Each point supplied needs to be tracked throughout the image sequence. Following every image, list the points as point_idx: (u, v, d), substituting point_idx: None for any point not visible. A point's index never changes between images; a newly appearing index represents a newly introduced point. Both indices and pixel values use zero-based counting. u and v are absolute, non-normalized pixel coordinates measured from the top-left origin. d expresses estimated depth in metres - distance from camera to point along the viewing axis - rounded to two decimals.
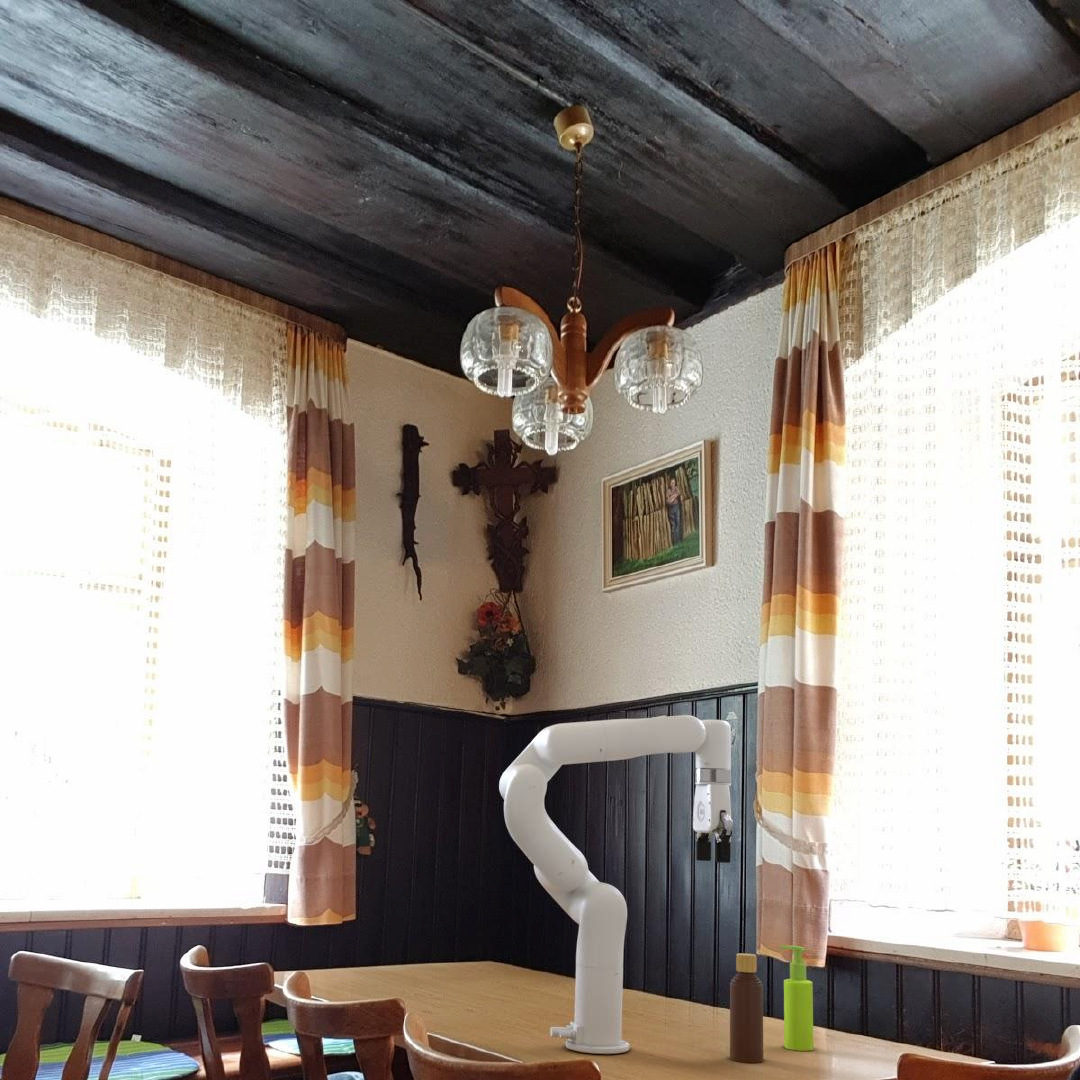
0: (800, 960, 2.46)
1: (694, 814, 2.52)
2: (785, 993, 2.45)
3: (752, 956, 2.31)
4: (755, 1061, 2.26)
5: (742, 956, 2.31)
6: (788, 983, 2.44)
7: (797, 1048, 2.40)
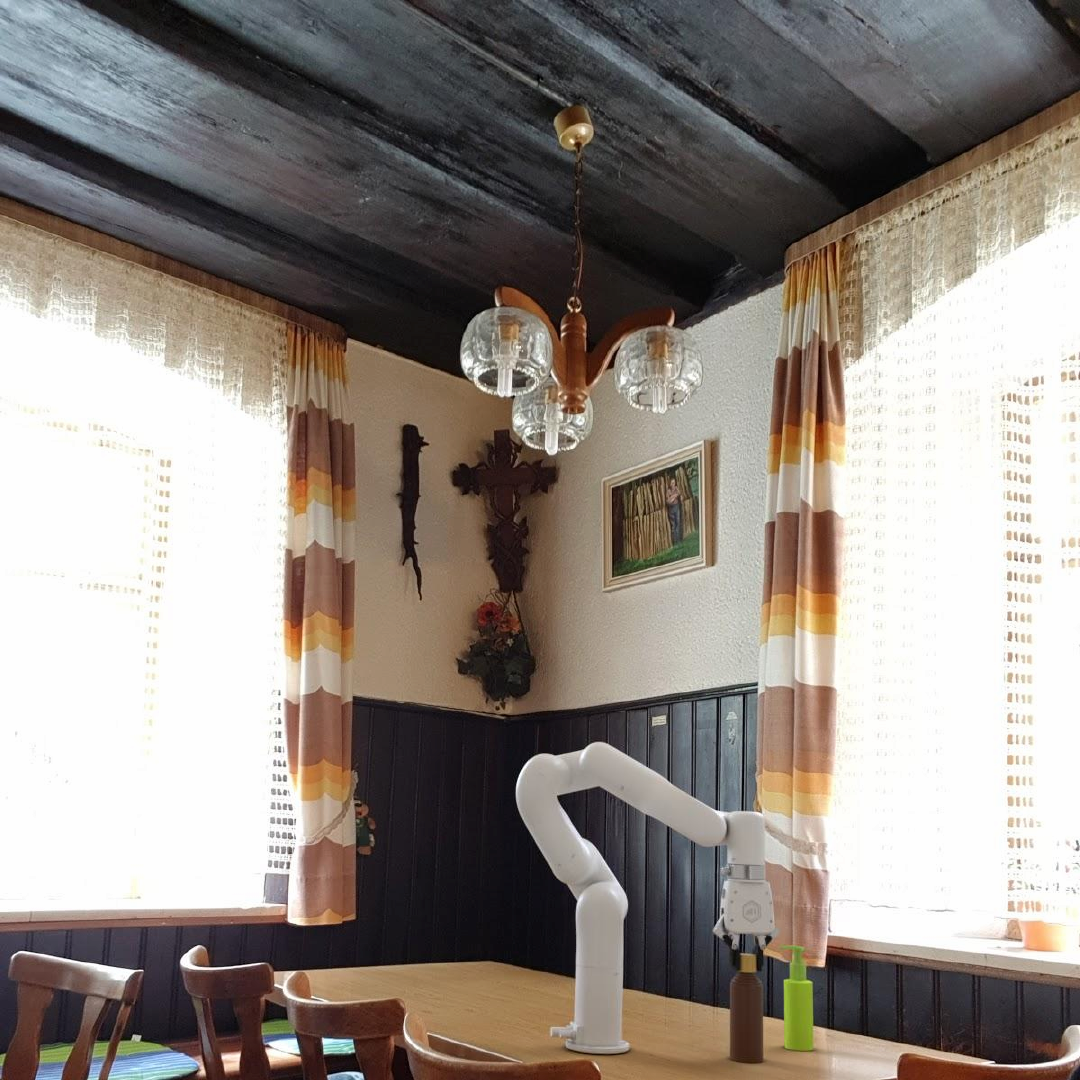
0: (800, 960, 2.46)
1: (734, 914, 2.32)
2: (785, 993, 2.45)
3: (752, 956, 2.31)
4: (755, 1061, 2.26)
5: (742, 956, 2.31)
6: (788, 983, 2.44)
7: (797, 1048, 2.40)
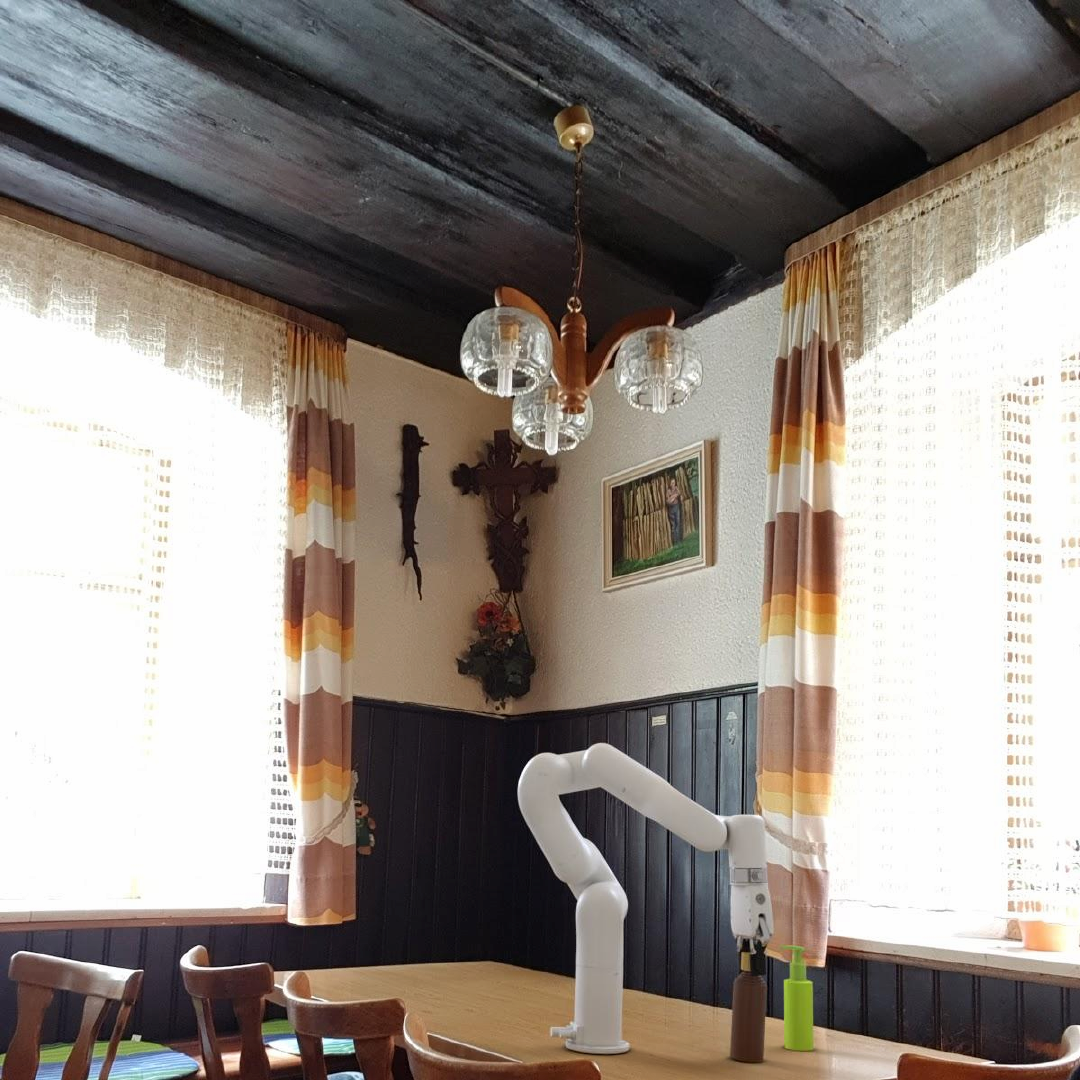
0: (800, 960, 2.46)
1: None
2: (785, 993, 2.45)
3: None
4: (755, 1061, 2.26)
5: None
6: (788, 983, 2.44)
7: (797, 1048, 2.40)
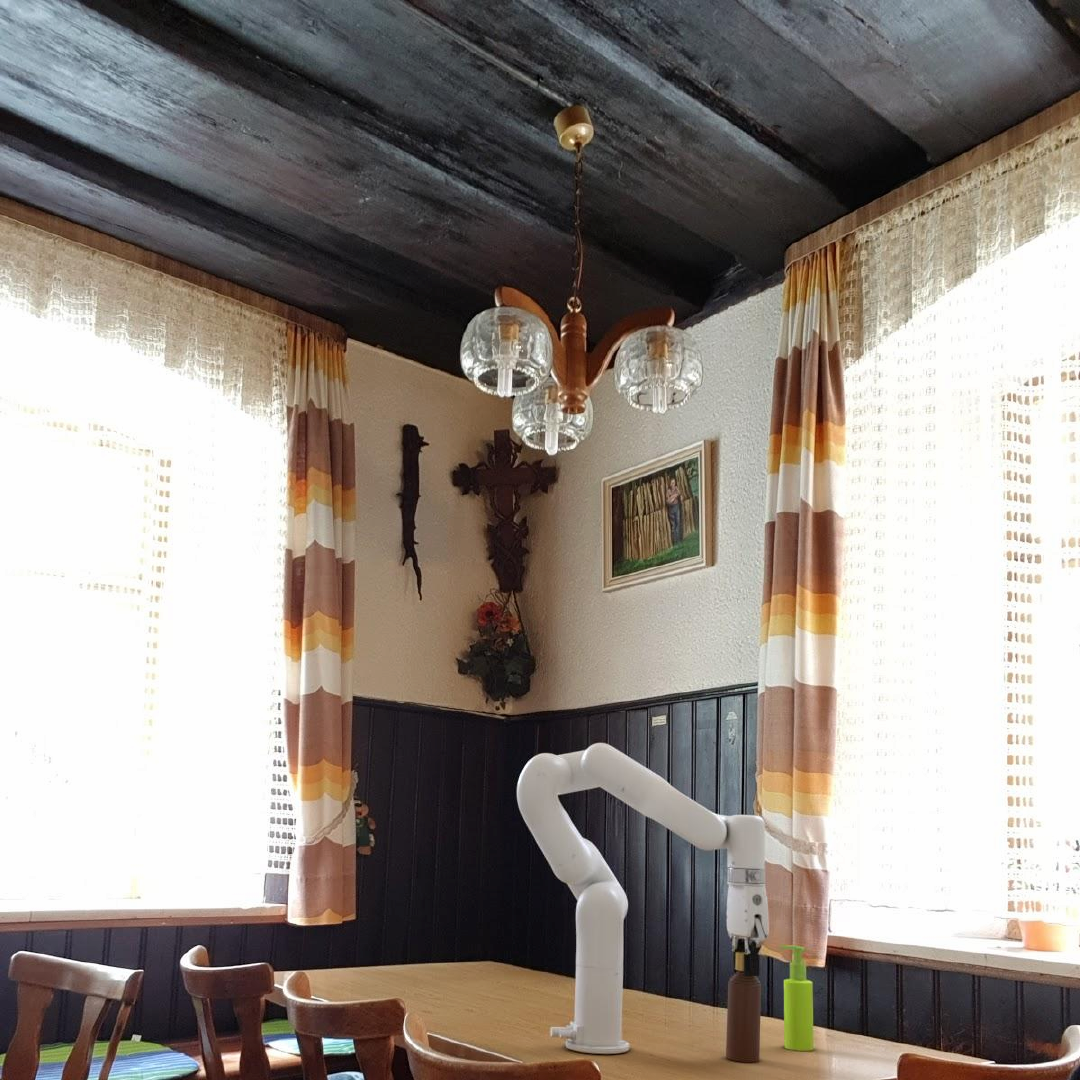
0: (800, 960, 2.46)
1: None
2: (785, 993, 2.45)
3: None
4: (751, 1061, 2.26)
5: None
6: (788, 983, 2.44)
7: (797, 1048, 2.40)
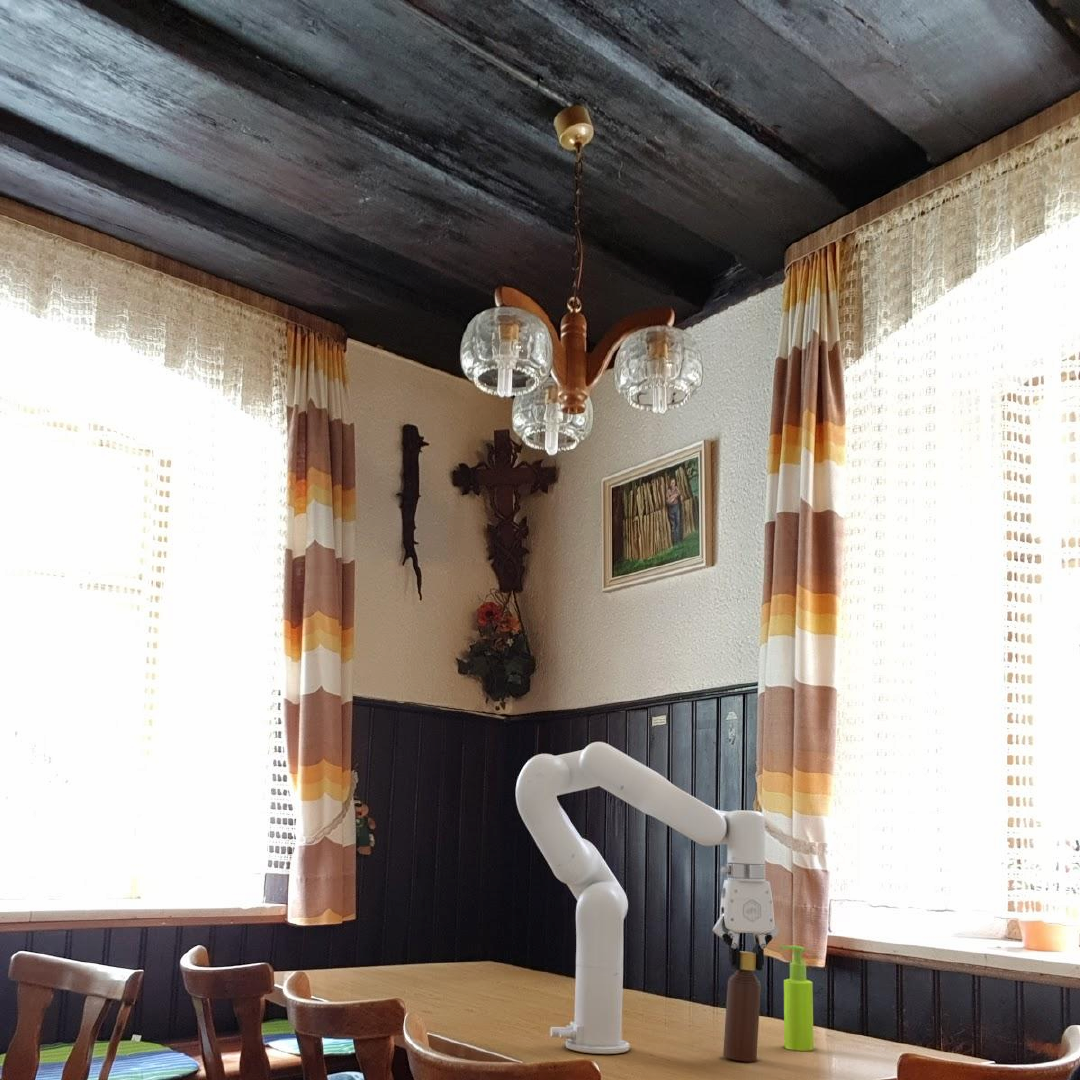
0: (800, 960, 2.46)
1: (734, 913, 2.32)
2: (785, 993, 2.45)
3: None
4: (748, 1060, 2.26)
5: None
6: (788, 983, 2.44)
7: (797, 1048, 2.40)
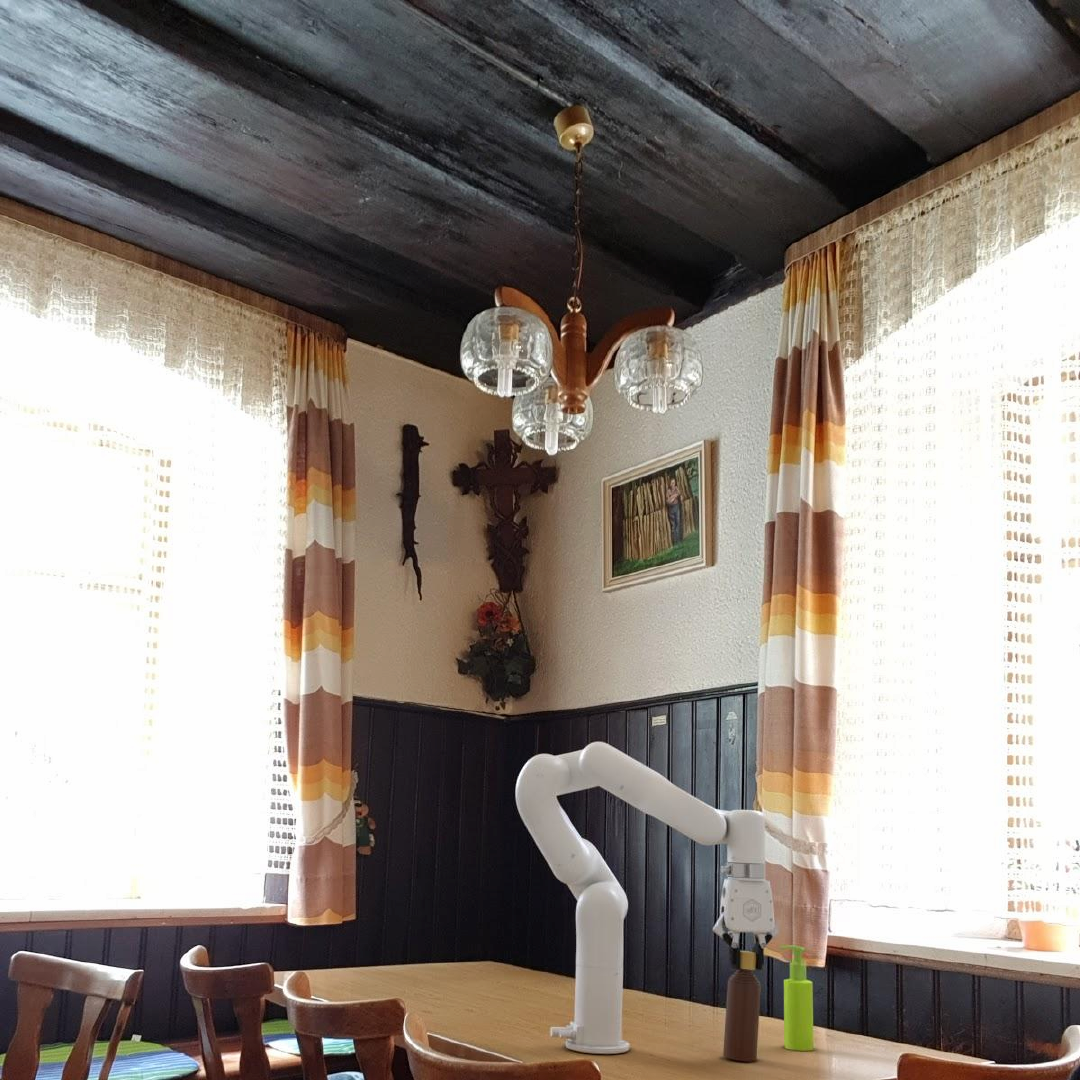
0: (800, 960, 2.46)
1: (734, 913, 2.32)
2: (785, 993, 2.45)
3: (740, 952, 2.32)
4: (748, 1060, 2.26)
5: None
6: (788, 983, 2.44)
7: (797, 1048, 2.40)
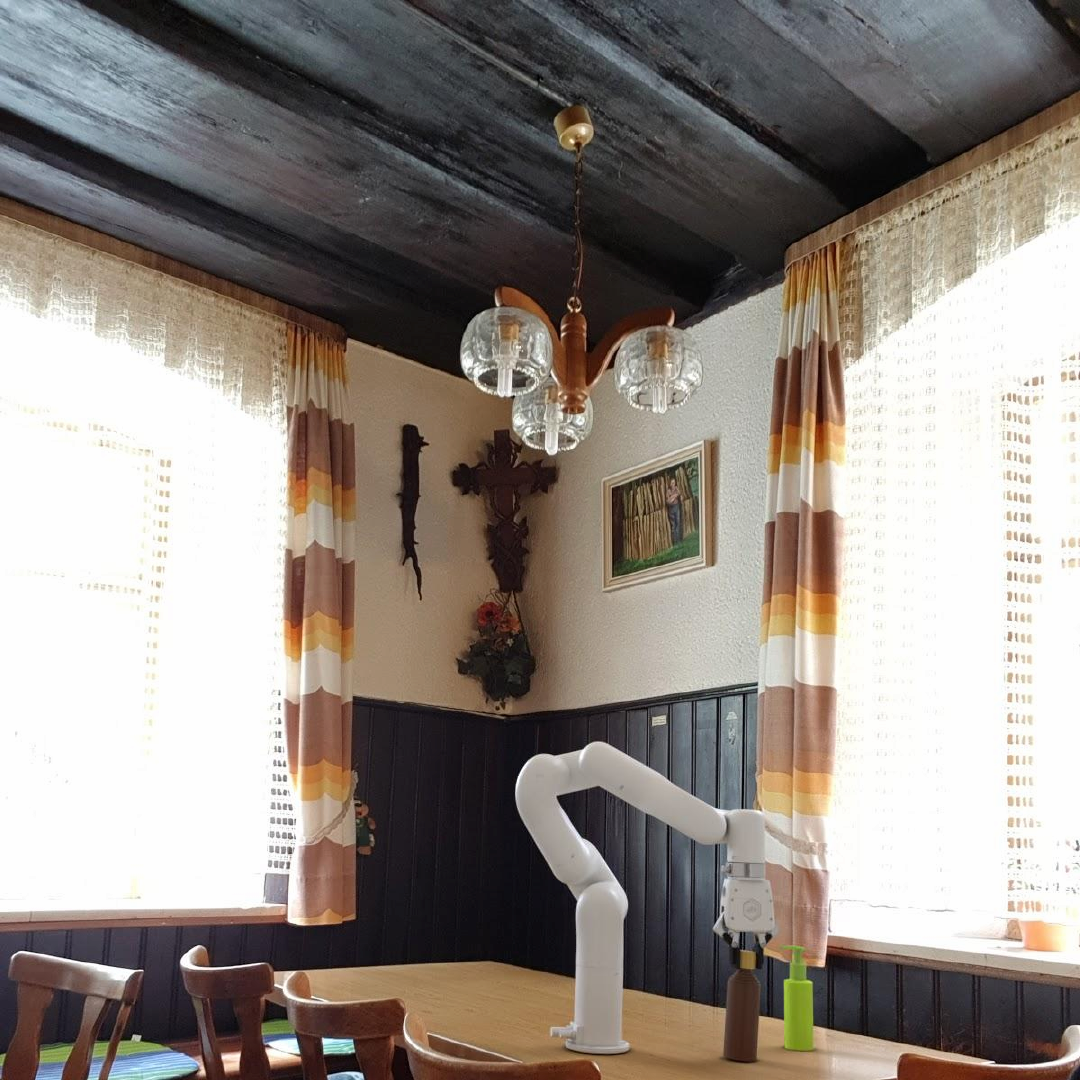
0: (800, 960, 2.46)
1: (734, 912, 2.32)
2: (785, 993, 2.45)
3: (754, 953, 2.32)
4: (748, 1060, 2.26)
5: (745, 953, 2.32)
6: (788, 983, 2.44)
7: (797, 1048, 2.40)
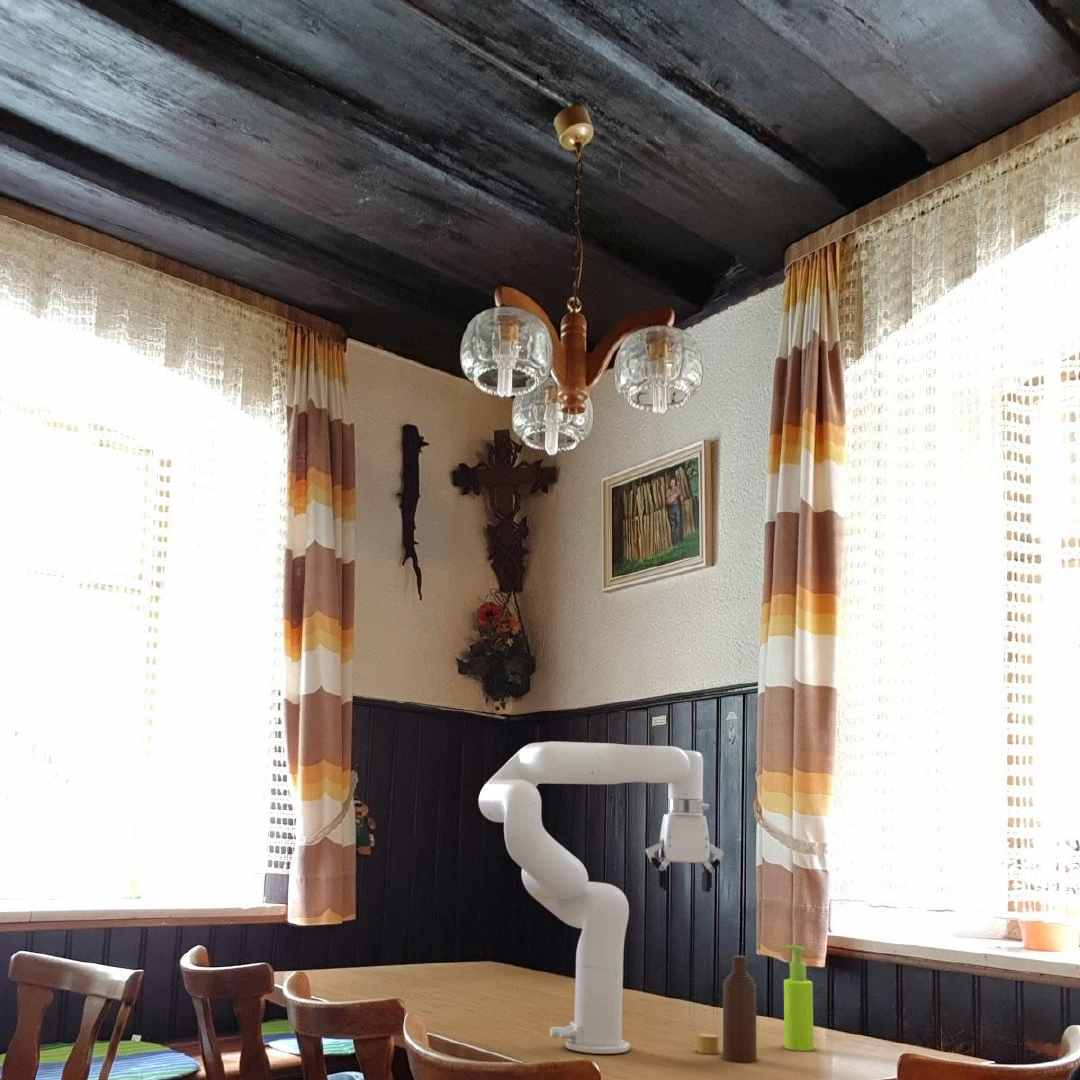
0: (800, 960, 2.46)
1: None
2: (785, 993, 2.45)
3: None
4: (748, 1061, 2.26)
5: None
6: (788, 983, 2.44)
7: (797, 1048, 2.40)
